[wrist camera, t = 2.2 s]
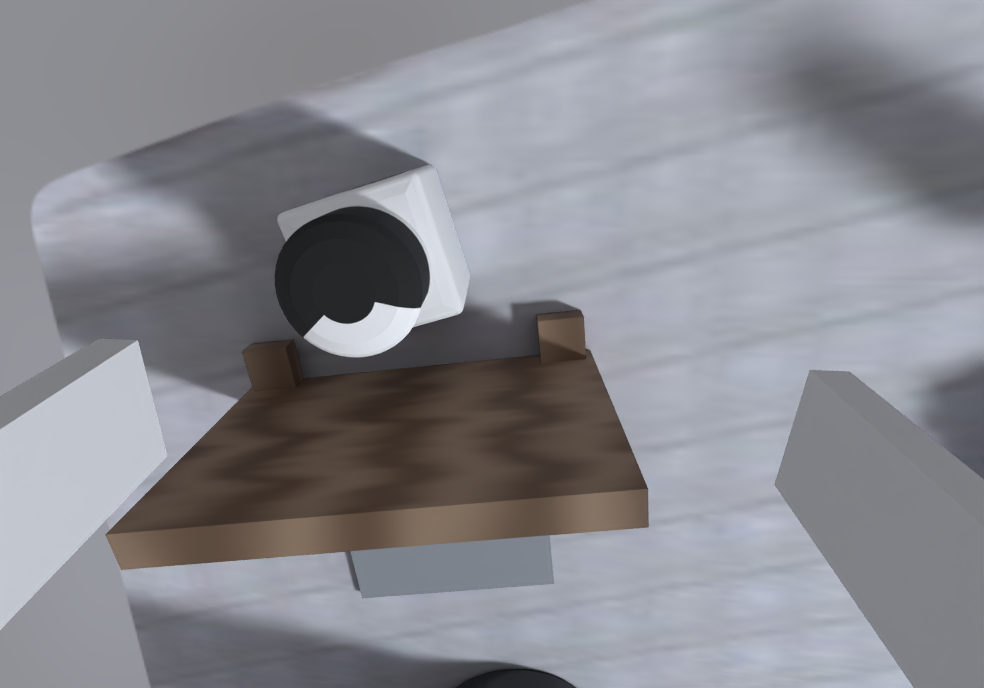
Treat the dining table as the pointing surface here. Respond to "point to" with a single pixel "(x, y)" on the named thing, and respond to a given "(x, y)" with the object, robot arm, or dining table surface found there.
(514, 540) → the mat
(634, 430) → the dining table surface
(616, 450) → the screen
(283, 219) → the container
